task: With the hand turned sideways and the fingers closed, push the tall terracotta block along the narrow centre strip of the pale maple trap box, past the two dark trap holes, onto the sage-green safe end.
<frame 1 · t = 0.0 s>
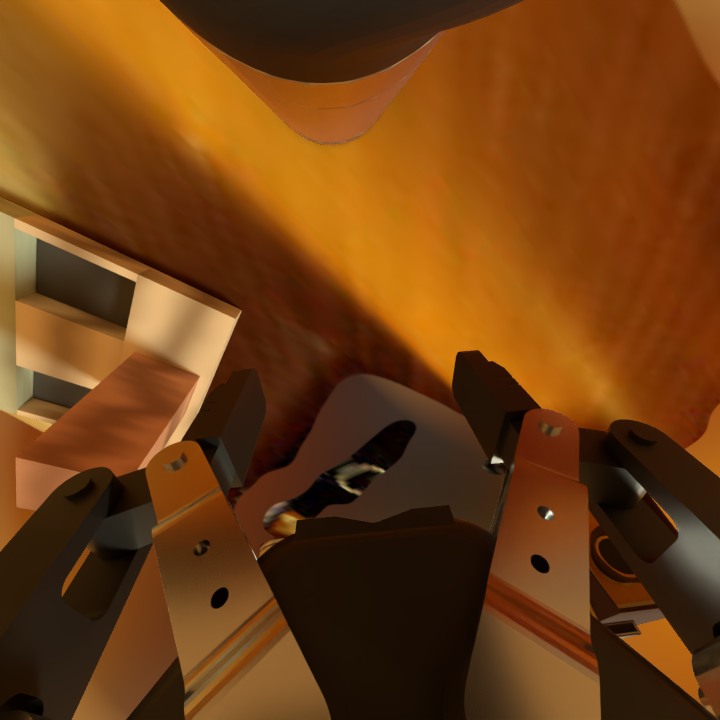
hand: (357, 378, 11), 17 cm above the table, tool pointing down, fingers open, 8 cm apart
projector: (564, 507, 54), on the table
block: (161, 385, 29), point 2 cm above the table, touching trap box
trap box: (85, 342, 28), on the table
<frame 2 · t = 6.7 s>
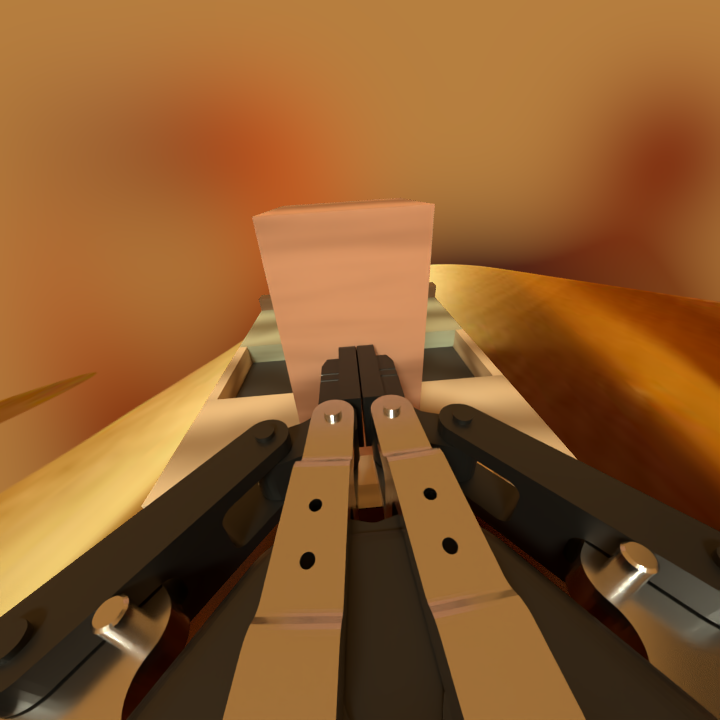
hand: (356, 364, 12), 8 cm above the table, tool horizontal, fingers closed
block: (359, 417, 18), point 2 cm above the table, touching gripper, trap box
trap box: (355, 378, 25), on the table
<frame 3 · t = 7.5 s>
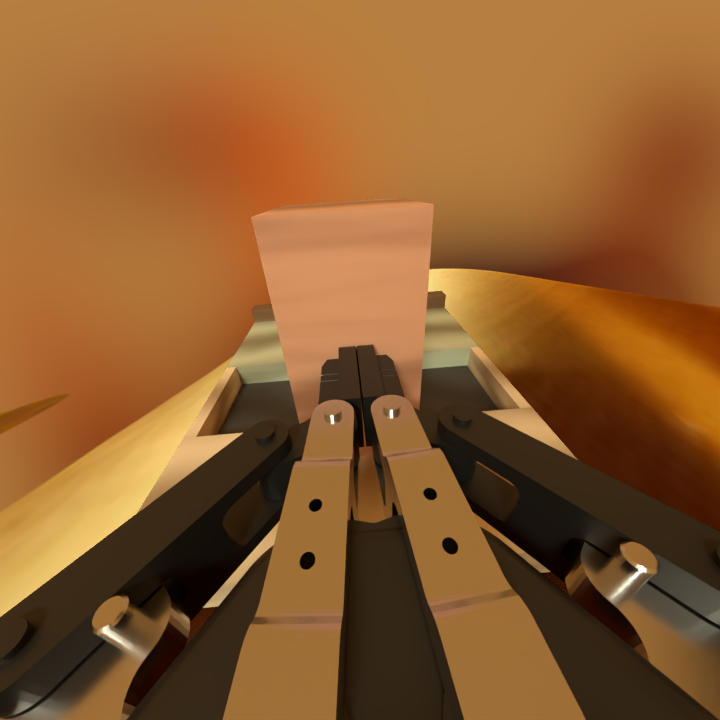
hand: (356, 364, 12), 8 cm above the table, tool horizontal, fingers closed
block: (359, 417, 18), point 2 cm above the table, touching gripper, trap box
trap box: (358, 404, 22), on the table
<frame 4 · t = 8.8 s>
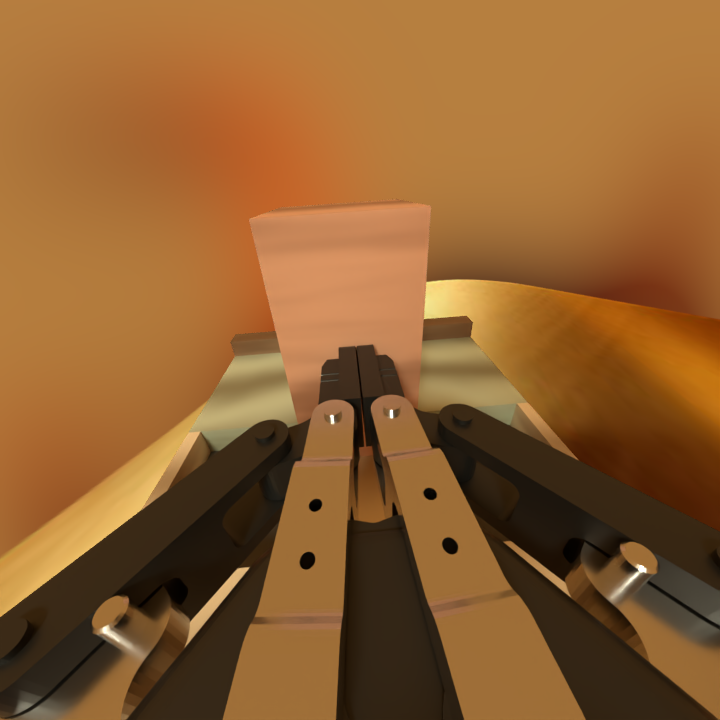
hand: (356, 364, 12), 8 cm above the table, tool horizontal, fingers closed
block: (357, 418, 18), point 2 cm above the table, touching gripper, trap box
trap box: (367, 493, 16), on the table
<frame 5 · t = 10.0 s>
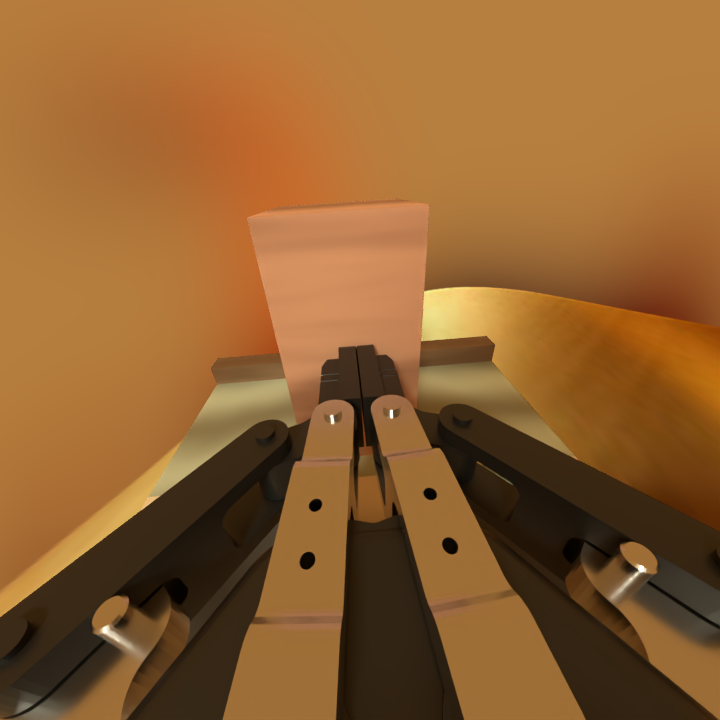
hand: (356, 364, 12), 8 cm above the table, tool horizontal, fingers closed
block: (356, 418, 18), point 2 cm above the table, touching gripper, trap box
trap box: (376, 587, 12), on the table
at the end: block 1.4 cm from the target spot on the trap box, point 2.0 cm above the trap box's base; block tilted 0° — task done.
